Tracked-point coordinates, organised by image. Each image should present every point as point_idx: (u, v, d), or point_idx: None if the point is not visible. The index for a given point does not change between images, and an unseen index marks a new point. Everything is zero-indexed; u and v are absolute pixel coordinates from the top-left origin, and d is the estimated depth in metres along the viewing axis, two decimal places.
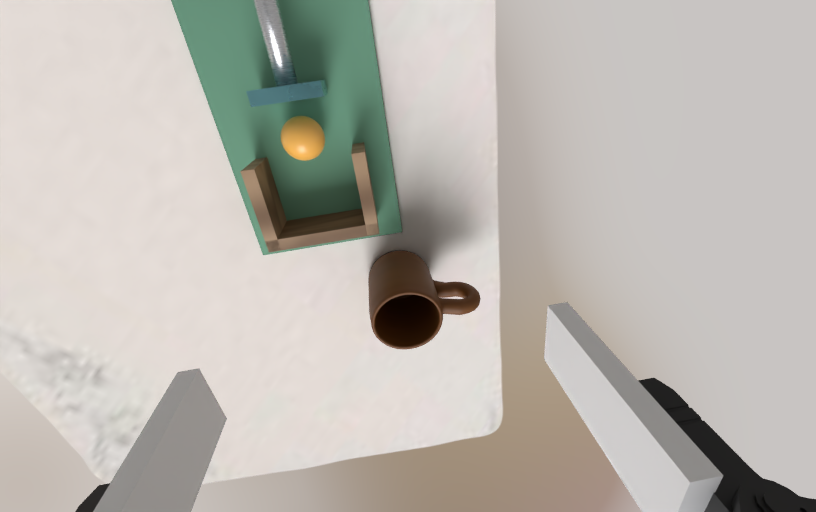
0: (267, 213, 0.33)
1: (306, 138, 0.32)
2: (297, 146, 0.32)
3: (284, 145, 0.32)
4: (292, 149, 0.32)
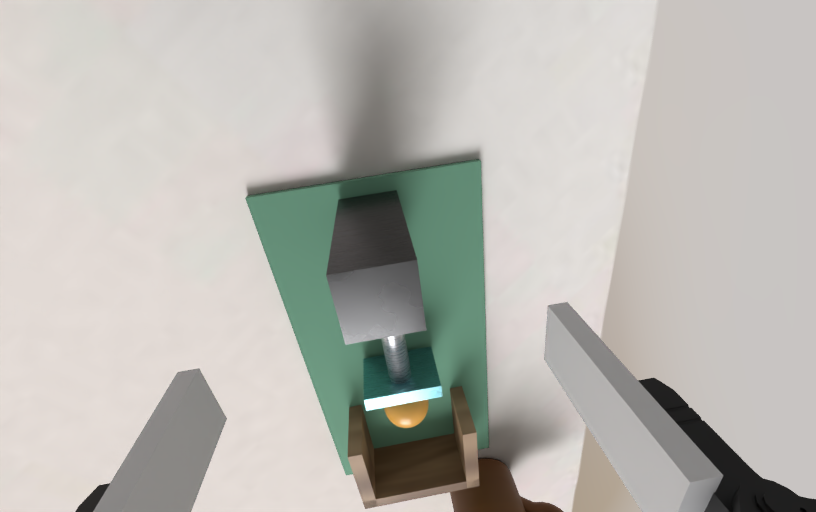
0: (369, 483, 0.32)
1: (415, 418, 0.30)
2: (405, 425, 0.30)
3: (389, 419, 0.31)
4: (399, 425, 0.31)
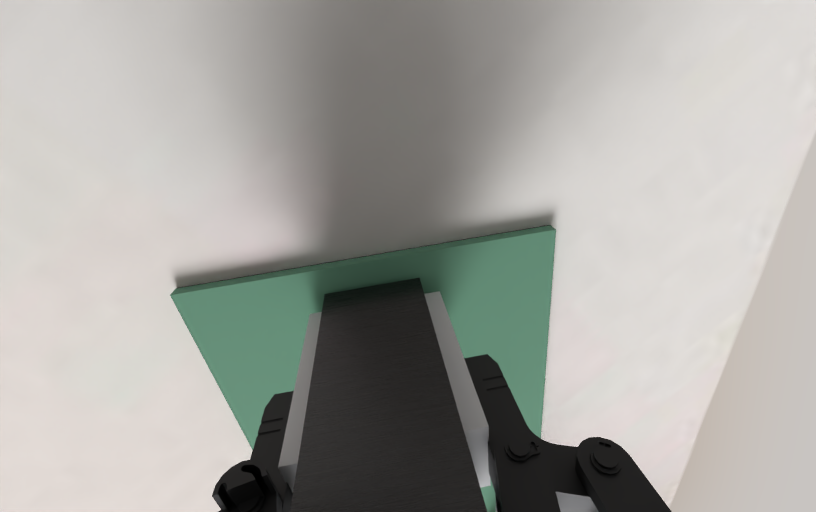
0: None
1: None
2: None
3: None
4: None
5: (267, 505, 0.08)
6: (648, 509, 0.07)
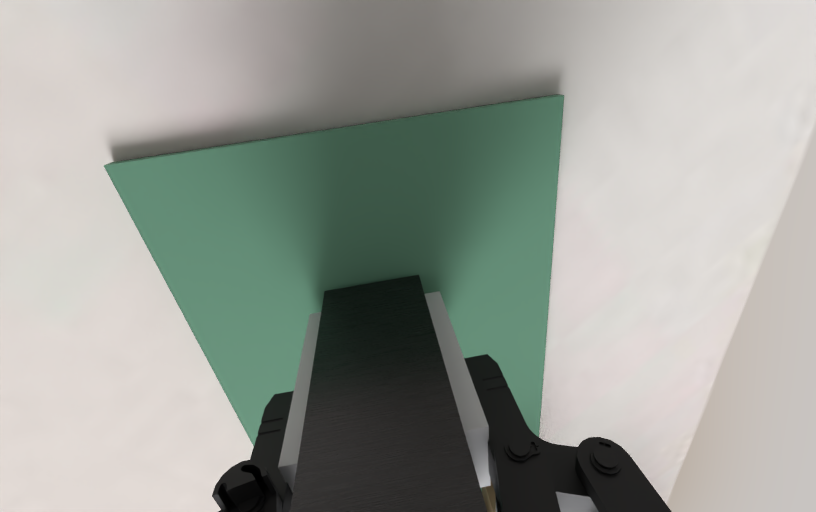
0: None
1: None
2: None
3: None
4: None
5: (267, 505, 0.08)
6: (648, 509, 0.07)
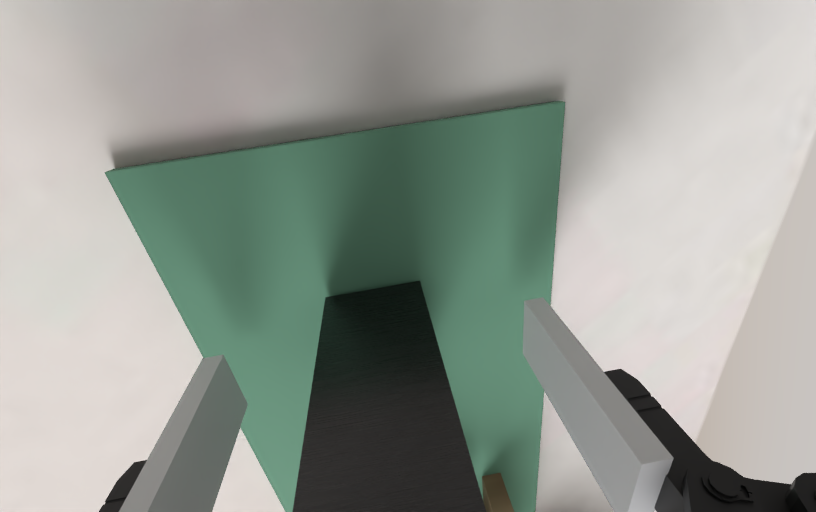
0: None
1: None
2: None
3: None
4: None
5: None
6: None
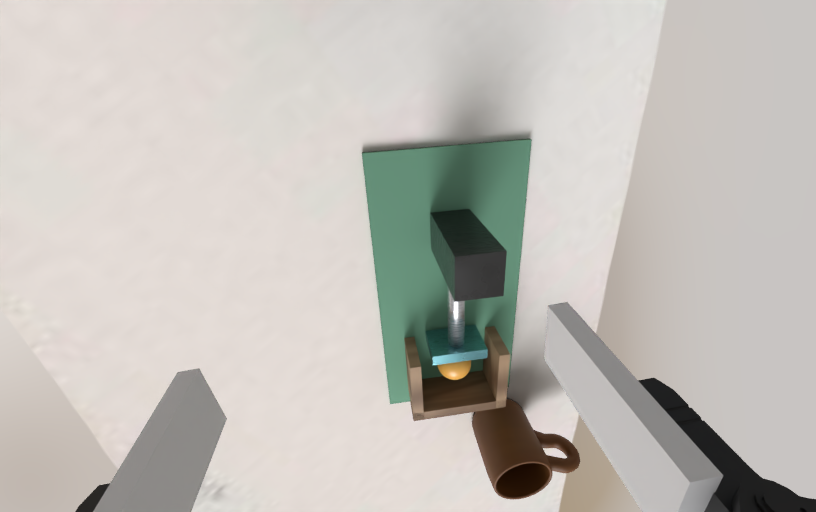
0: (421, 395, 0.40)
1: None
2: None
3: None
4: None
5: None
6: None
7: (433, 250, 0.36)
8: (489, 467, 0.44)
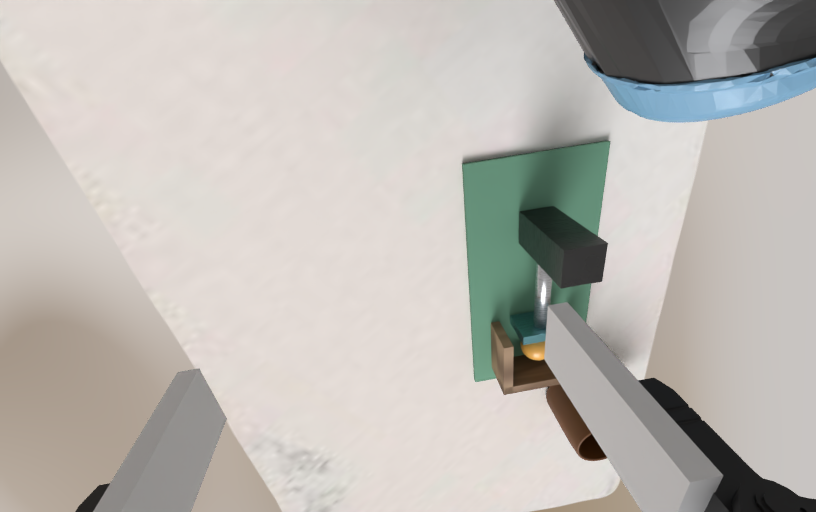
0: (512, 371, 0.45)
1: None
2: None
3: None
4: None
5: None
6: None
7: (523, 244, 0.41)
8: (571, 433, 0.49)
